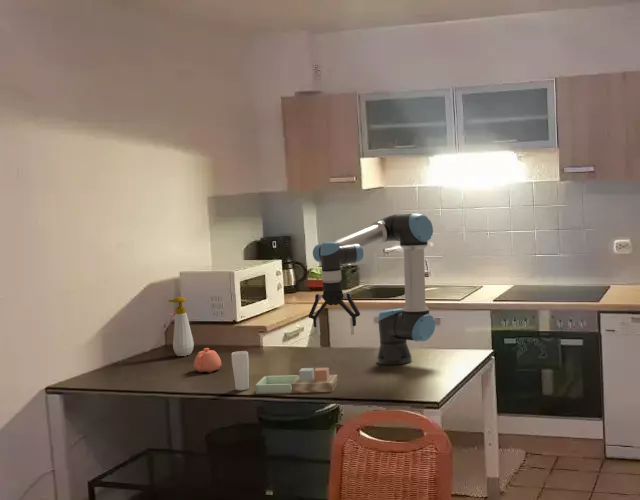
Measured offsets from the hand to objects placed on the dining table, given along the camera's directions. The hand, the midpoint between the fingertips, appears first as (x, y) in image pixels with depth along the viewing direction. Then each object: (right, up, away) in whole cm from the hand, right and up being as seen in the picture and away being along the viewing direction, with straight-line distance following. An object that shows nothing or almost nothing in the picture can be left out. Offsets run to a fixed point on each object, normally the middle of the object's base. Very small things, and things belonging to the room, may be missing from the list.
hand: (335, 335), depth 365 cm
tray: (-23, -22, +6) cm, 32 cm away
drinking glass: (-37, -23, +9) cm, 45 cm away
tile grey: (-11, -18, +4) cm, 21 cm away
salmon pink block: (-5, -18, +2) cm, 19 cm away
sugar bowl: (-56, -21, +49) cm, 78 cm away
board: (-8, -21, +3) cm, 23 cm away
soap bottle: (-73, -19, +90) cm, 118 cm away
